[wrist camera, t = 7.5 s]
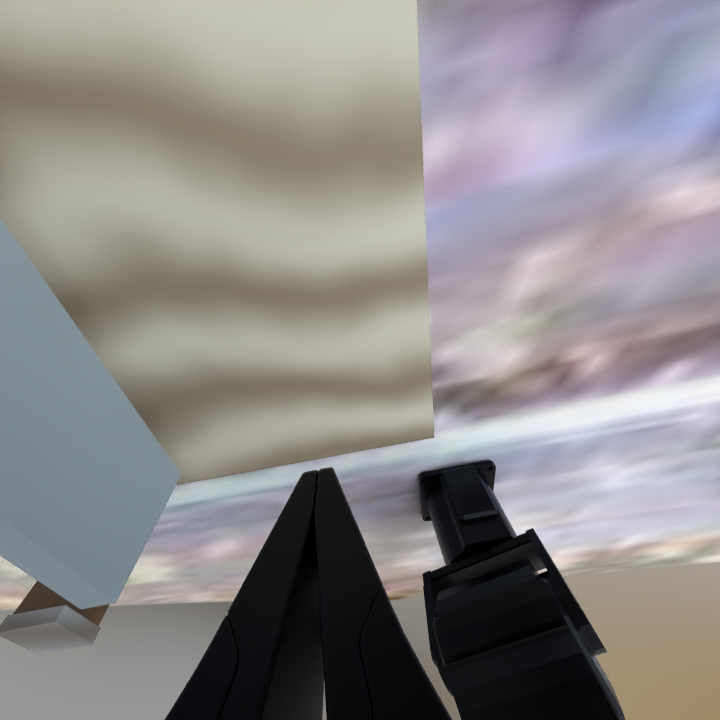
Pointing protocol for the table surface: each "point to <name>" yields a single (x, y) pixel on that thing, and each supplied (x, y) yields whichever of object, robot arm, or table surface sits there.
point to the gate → (69, 449)
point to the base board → (230, 214)
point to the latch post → (51, 622)
